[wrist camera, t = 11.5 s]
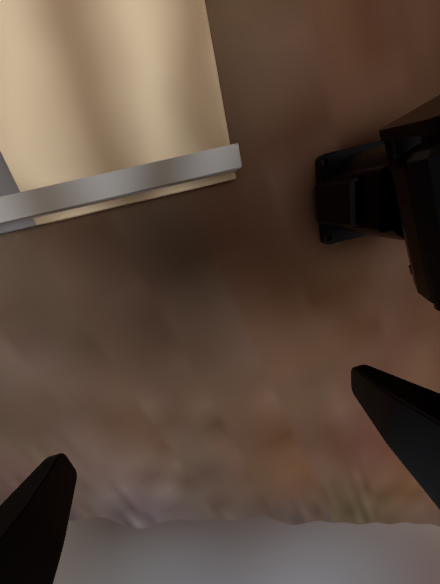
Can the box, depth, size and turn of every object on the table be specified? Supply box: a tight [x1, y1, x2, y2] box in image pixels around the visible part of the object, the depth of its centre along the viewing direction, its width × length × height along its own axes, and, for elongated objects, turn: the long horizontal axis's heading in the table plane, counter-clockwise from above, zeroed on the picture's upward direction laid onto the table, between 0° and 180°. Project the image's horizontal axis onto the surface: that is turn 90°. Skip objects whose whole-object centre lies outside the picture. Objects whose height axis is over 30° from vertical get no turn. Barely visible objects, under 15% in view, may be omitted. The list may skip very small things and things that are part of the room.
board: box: [0, 0, 242, 235], centre depth 12 cm, size 21×14×4 cm, turn 102°
